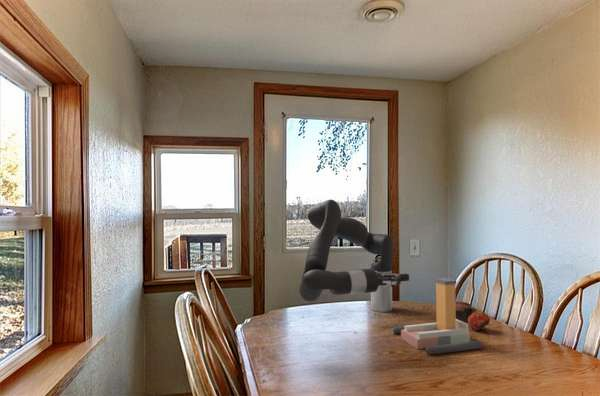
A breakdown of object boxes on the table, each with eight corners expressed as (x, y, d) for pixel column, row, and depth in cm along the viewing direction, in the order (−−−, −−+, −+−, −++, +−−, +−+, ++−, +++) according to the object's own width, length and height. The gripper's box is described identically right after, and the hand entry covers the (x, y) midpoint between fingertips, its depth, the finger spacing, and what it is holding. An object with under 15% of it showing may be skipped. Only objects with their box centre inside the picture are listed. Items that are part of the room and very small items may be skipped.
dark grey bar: (428, 356, 117) (428, 348, 117) (424, 353, 119) (424, 345, 119) (484, 349, 122) (484, 341, 122) (478, 346, 125) (478, 339, 125)
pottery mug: (443, 320, 155) (444, 300, 158) (458, 327, 158) (459, 308, 162) (470, 320, 145) (471, 298, 149) (485, 327, 149) (485, 306, 153)
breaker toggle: (445, 332, 128) (445, 281, 129) (435, 327, 134) (435, 278, 134) (456, 331, 130) (456, 280, 130) (446, 326, 135) (446, 277, 135)
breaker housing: (417, 349, 123) (417, 330, 123) (401, 338, 132) (400, 321, 132) (469, 342, 128) (469, 324, 128) (450, 333, 138) (450, 316, 138)
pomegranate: (492, 336, 141) (473, 314, 148) (501, 324, 137) (481, 302, 144) (477, 341, 138) (459, 318, 145) (486, 329, 134) (467, 306, 141)
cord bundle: (394, 335, 136) (394, 328, 136) (391, 332, 138) (391, 326, 138) (443, 329, 142) (443, 323, 142) (439, 327, 144) (439, 321, 144)
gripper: (369, 273, 117) (419, 269, 121) (351, 266, 129) (397, 262, 134) (370, 298, 117) (419, 292, 121) (352, 288, 129) (397, 283, 134)
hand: (407, 277), depth 128 cm, fingers closed
